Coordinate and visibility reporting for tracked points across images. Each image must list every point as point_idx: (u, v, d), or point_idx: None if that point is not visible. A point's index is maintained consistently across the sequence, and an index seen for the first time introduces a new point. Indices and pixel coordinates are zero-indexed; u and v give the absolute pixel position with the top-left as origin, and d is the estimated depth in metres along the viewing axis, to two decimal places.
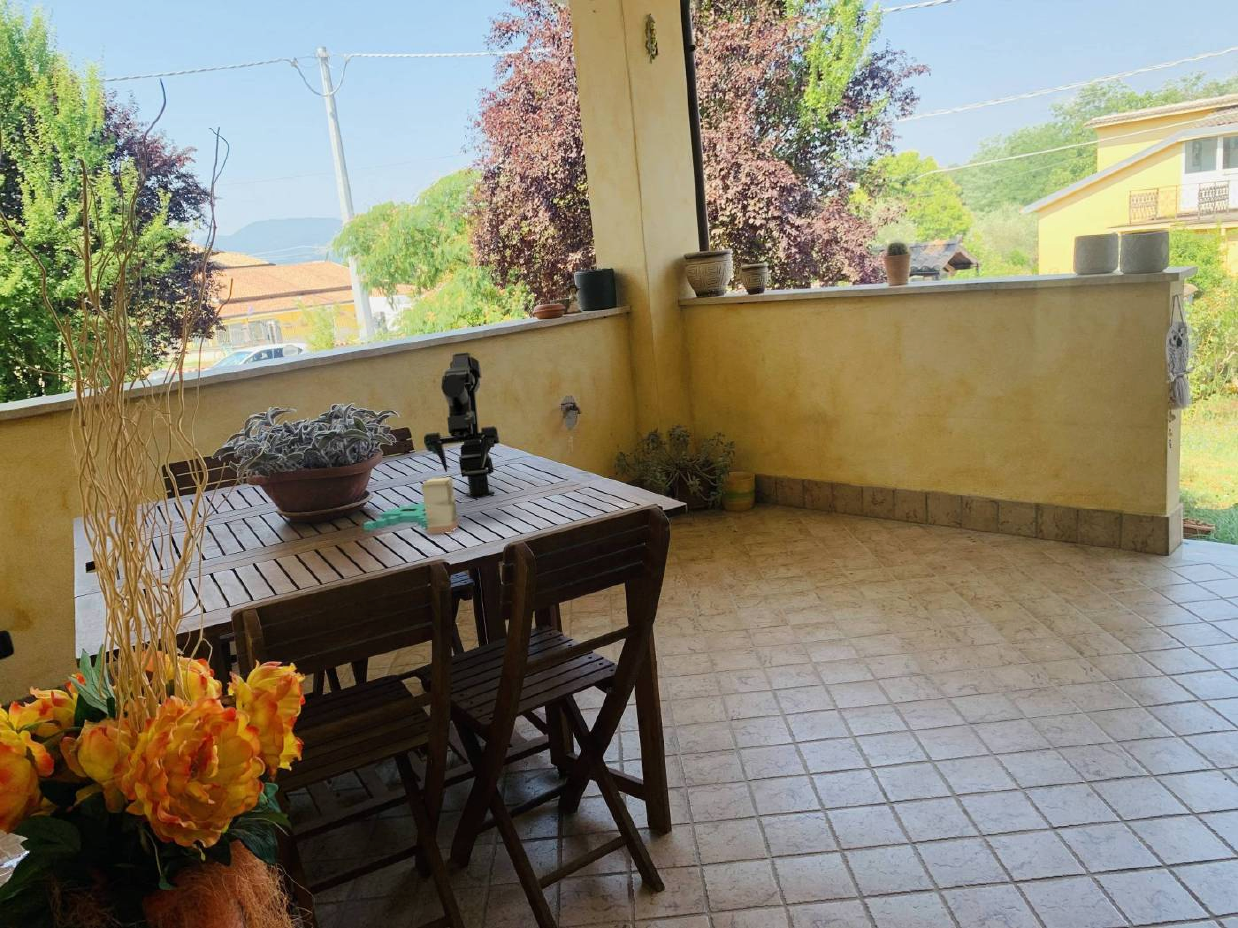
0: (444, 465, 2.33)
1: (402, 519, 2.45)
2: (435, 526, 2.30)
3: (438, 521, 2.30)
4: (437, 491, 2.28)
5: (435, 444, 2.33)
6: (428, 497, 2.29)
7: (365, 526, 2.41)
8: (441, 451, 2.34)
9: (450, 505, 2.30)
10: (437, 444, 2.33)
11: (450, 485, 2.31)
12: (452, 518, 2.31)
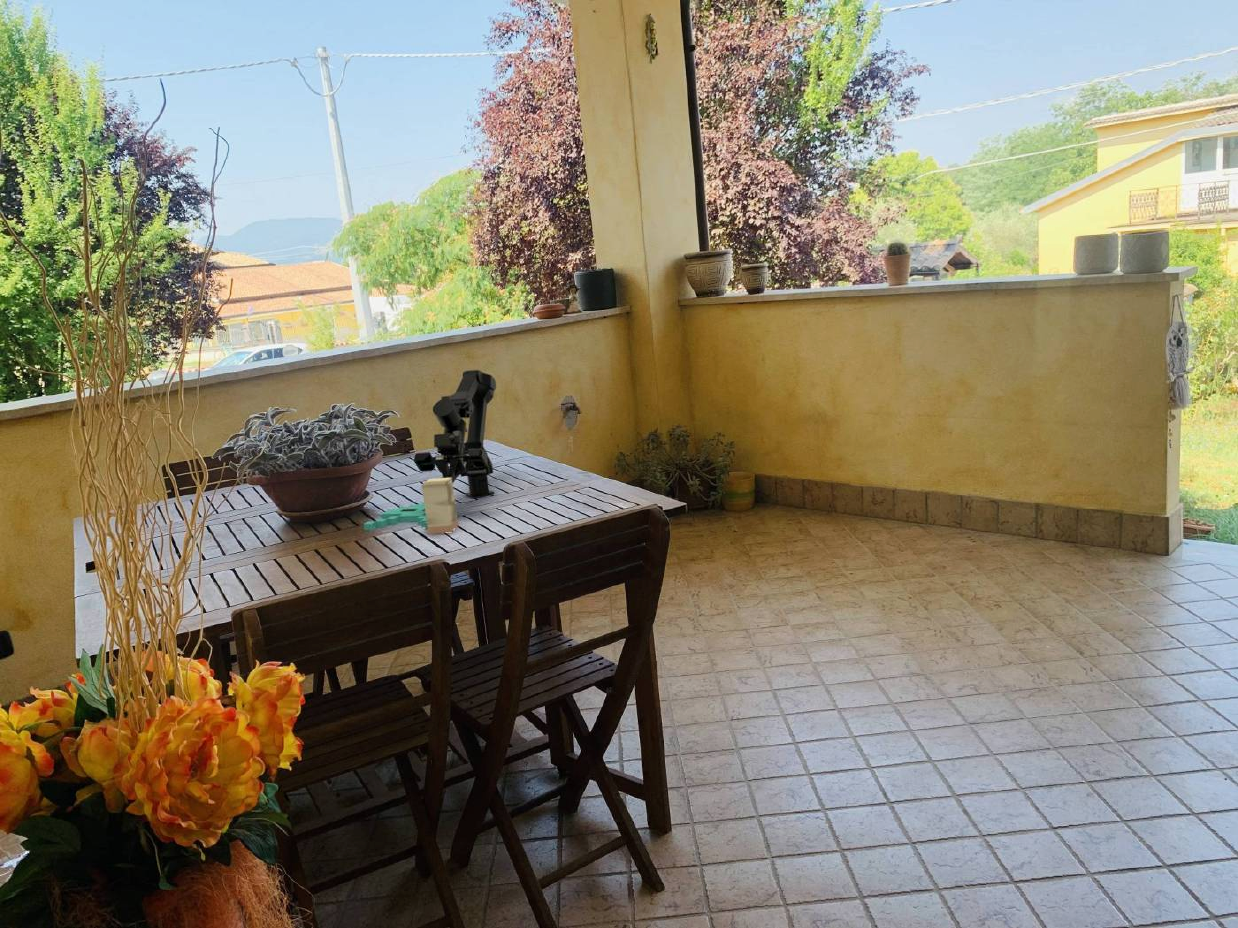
0: None
1: (402, 519, 2.45)
2: (435, 526, 2.30)
3: (438, 521, 2.30)
4: (437, 491, 2.28)
5: (439, 461, 2.40)
6: (428, 497, 2.29)
7: (365, 526, 2.41)
8: (444, 468, 2.40)
9: (450, 505, 2.30)
10: (441, 461, 2.40)
11: (450, 485, 2.31)
12: (452, 518, 2.31)
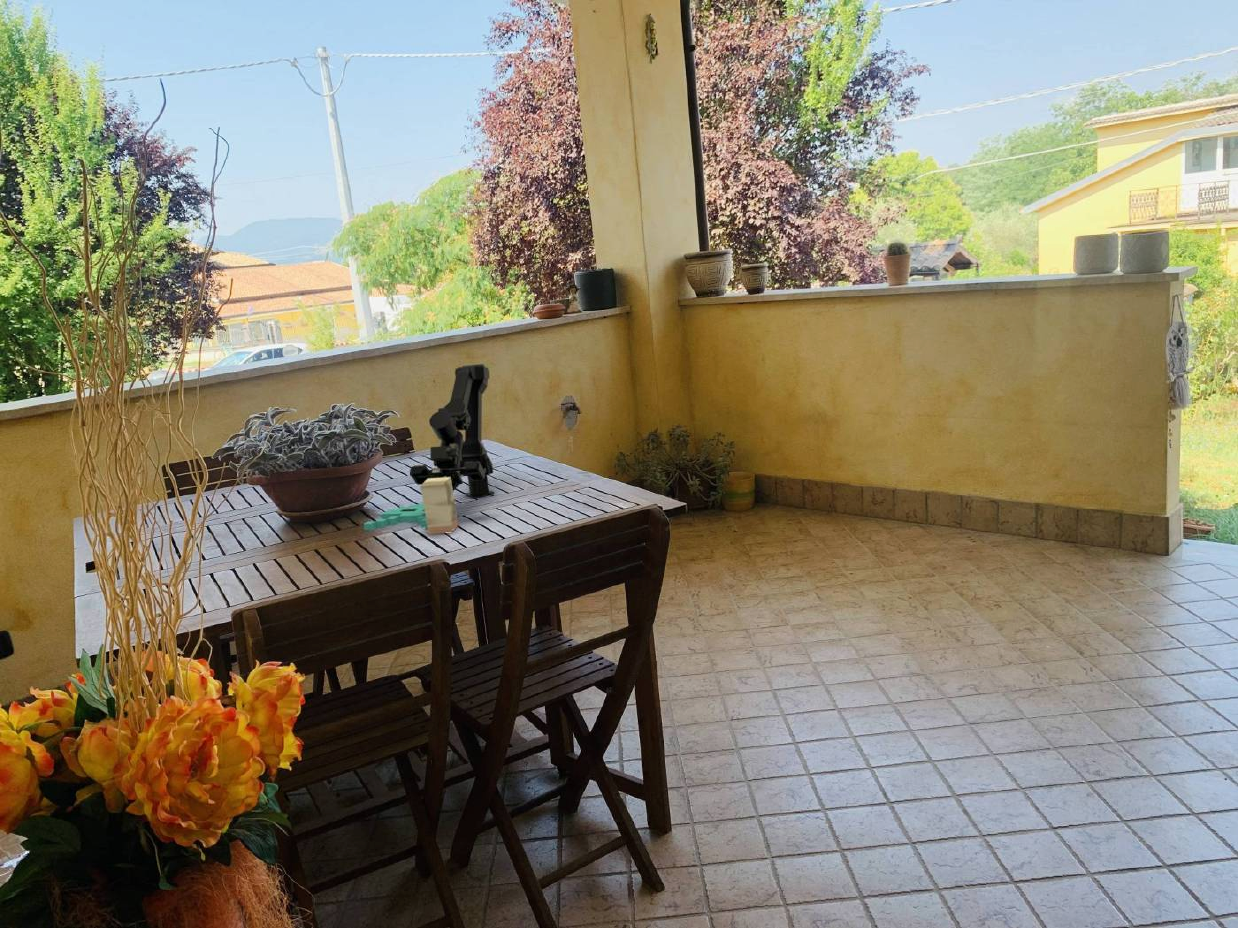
0: None
1: (402, 519, 2.45)
2: (434, 526, 2.30)
3: (438, 521, 2.30)
4: (436, 492, 2.27)
5: (435, 474, 2.36)
6: (427, 497, 2.28)
7: (365, 526, 2.40)
8: None
9: (449, 505, 2.30)
10: (437, 474, 2.36)
11: (449, 485, 2.31)
12: (451, 518, 2.31)
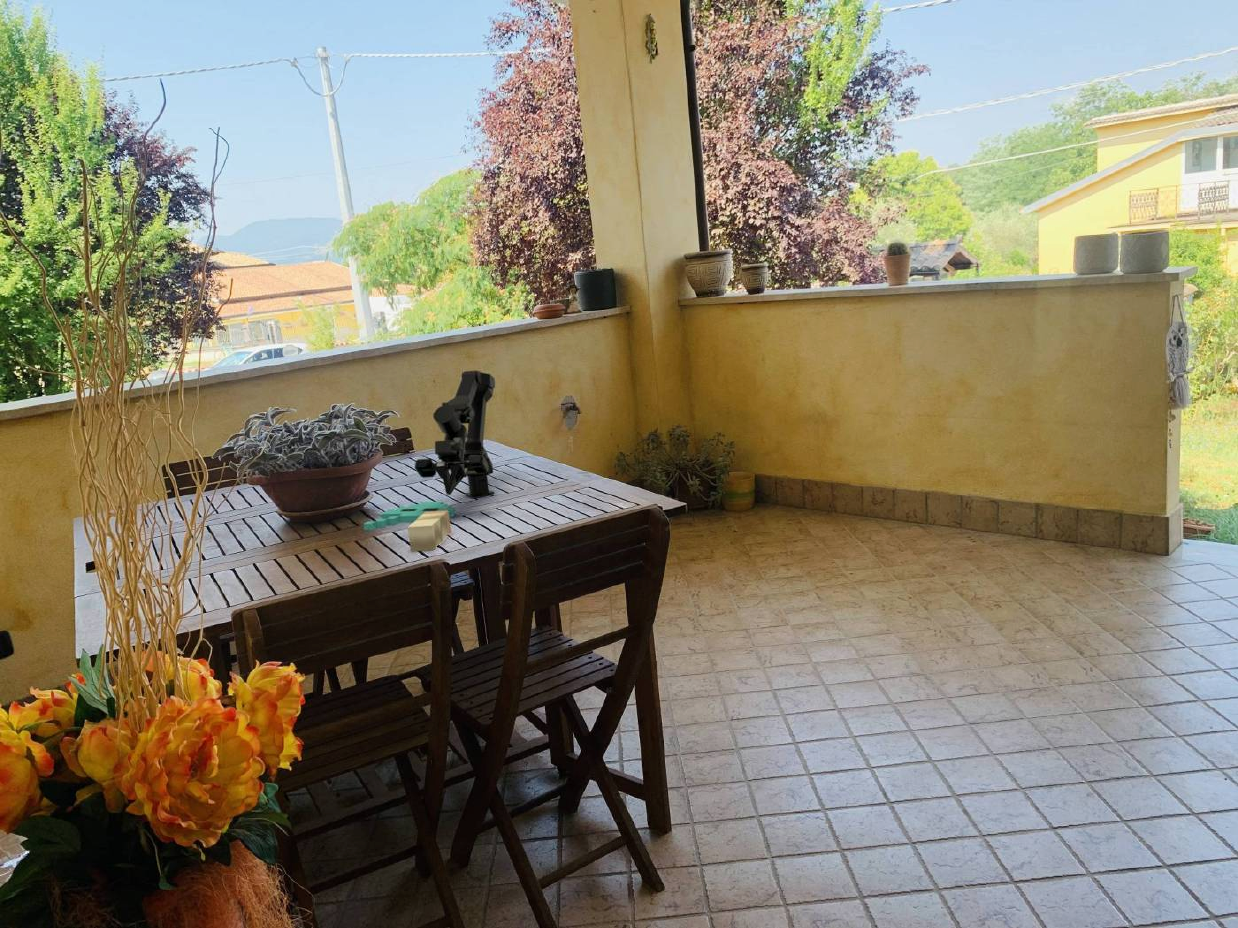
0: (446, 488, 2.39)
1: (402, 519, 2.45)
2: None
3: None
4: None
5: (440, 467, 2.40)
6: None
7: (365, 526, 2.40)
8: (445, 474, 2.40)
9: (442, 534, 2.23)
10: (442, 467, 2.40)
11: (435, 532, 2.18)
12: (446, 529, 2.27)
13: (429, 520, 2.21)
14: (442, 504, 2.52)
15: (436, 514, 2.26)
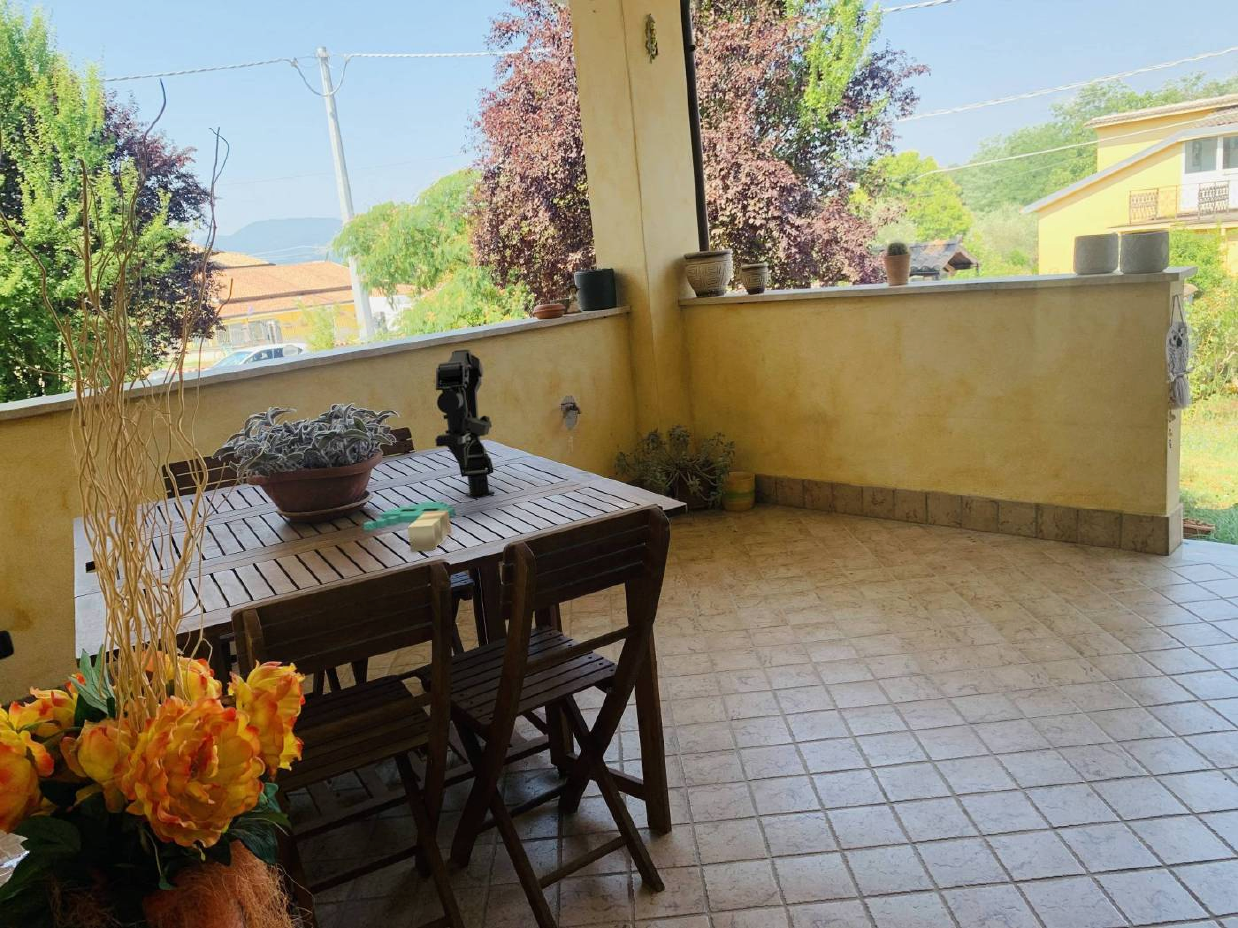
0: (465, 462, 2.44)
1: (402, 519, 2.45)
2: None
3: None
4: None
5: (467, 443, 2.42)
6: None
7: (365, 526, 2.40)
8: (465, 449, 2.43)
9: (442, 534, 2.23)
10: (468, 443, 2.42)
11: (435, 532, 2.18)
12: (446, 529, 2.27)
13: (429, 520, 2.21)
14: (442, 504, 2.52)
15: (436, 514, 2.26)
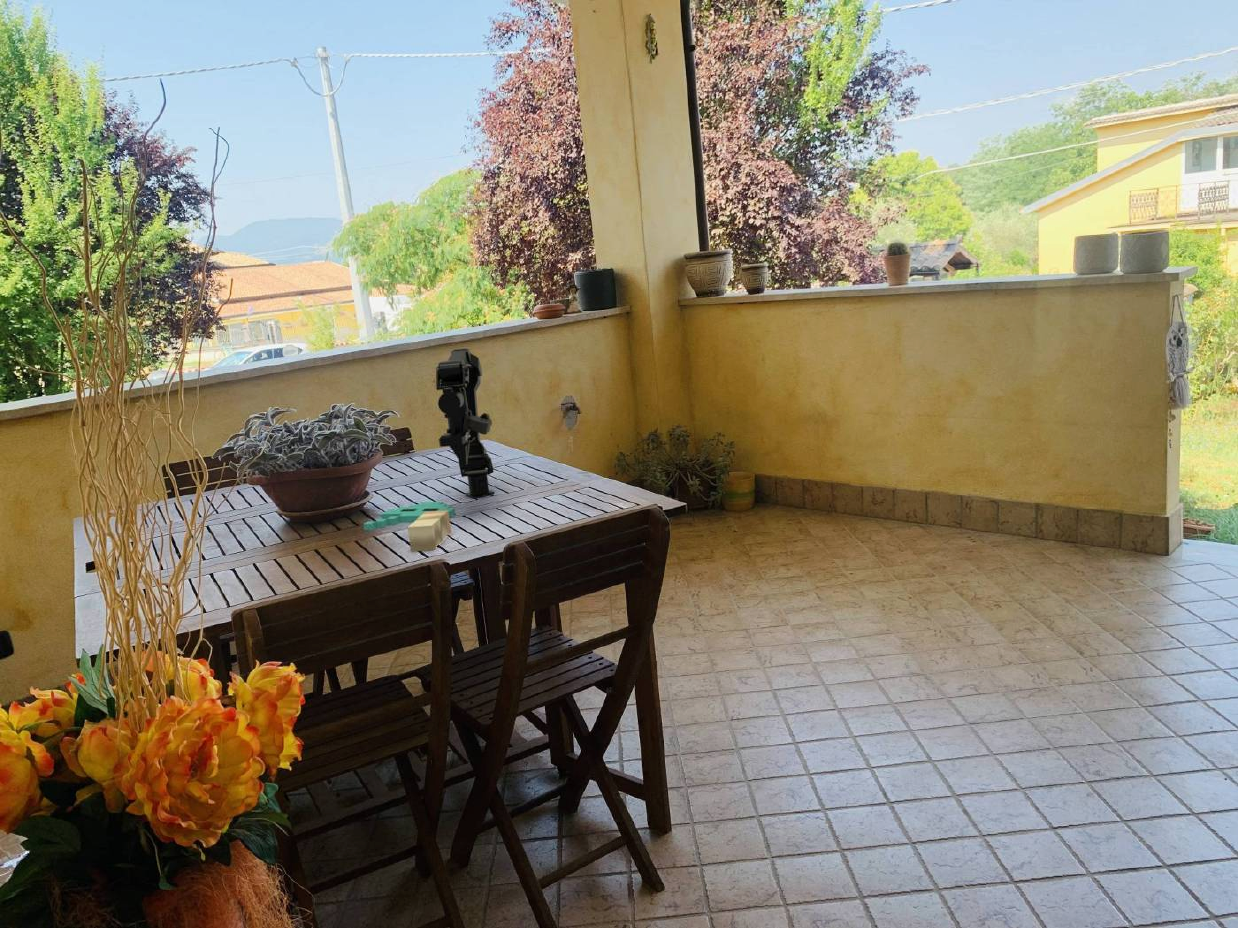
0: (466, 460, 2.45)
1: (402, 519, 2.45)
2: None
3: None
4: None
5: (469, 442, 2.42)
6: None
7: (365, 526, 2.40)
8: (466, 447, 2.44)
9: (442, 534, 2.23)
10: (469, 442, 2.42)
11: (435, 532, 2.18)
12: (446, 529, 2.26)
13: (429, 520, 2.21)
14: (442, 504, 2.52)
15: (436, 514, 2.26)
